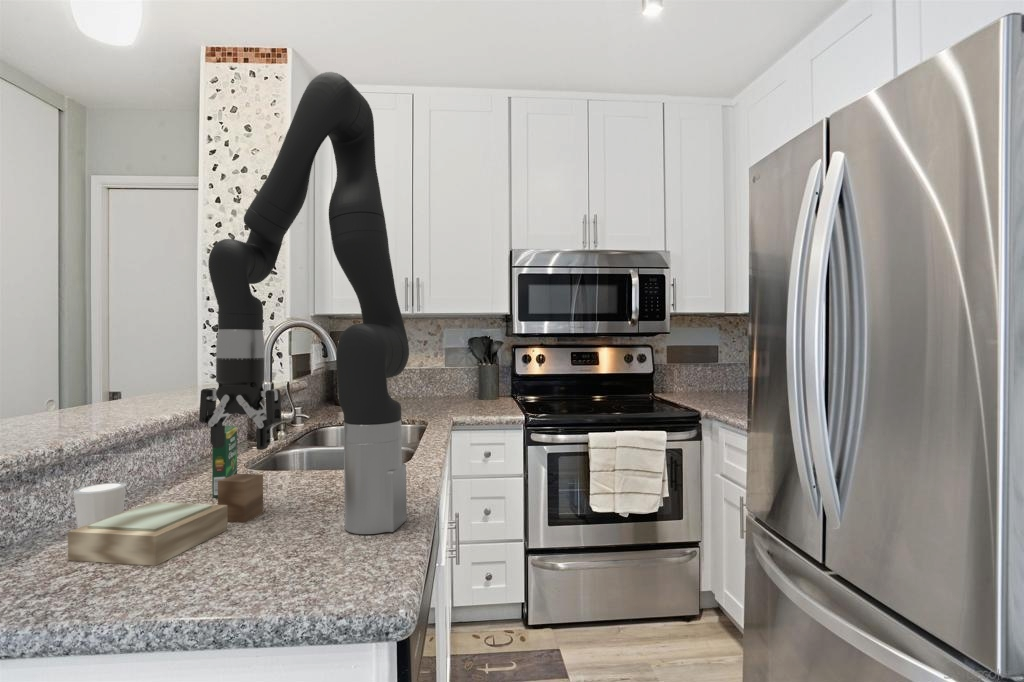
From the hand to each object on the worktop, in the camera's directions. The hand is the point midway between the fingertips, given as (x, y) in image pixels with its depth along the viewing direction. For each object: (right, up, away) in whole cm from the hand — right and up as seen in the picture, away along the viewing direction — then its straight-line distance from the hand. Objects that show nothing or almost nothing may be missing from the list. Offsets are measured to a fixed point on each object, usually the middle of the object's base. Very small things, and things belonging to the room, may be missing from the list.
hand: (240, 448), depth 91 cm
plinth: (-7, -12, -12) cm, 18 cm away
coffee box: (-11, -13, +16) cm, 23 cm away
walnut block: (0, -12, 0) cm, 12 cm away
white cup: (-20, -12, -6) cm, 24 cm away
